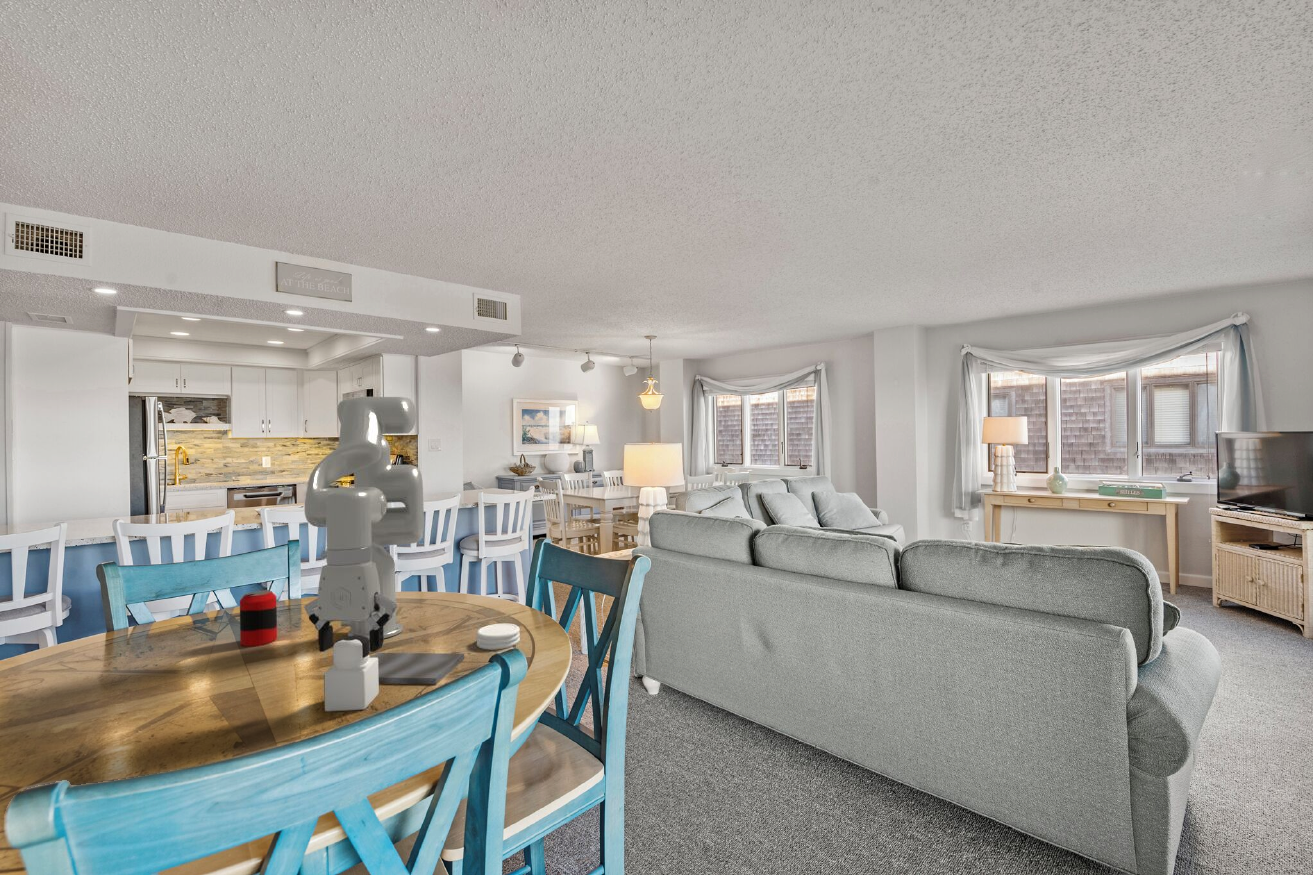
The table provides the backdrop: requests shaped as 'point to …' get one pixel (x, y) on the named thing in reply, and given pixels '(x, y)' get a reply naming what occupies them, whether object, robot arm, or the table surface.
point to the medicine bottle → (351, 676)
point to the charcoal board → (415, 667)
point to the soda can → (258, 618)
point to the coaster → (498, 636)
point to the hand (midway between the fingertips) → (351, 649)
